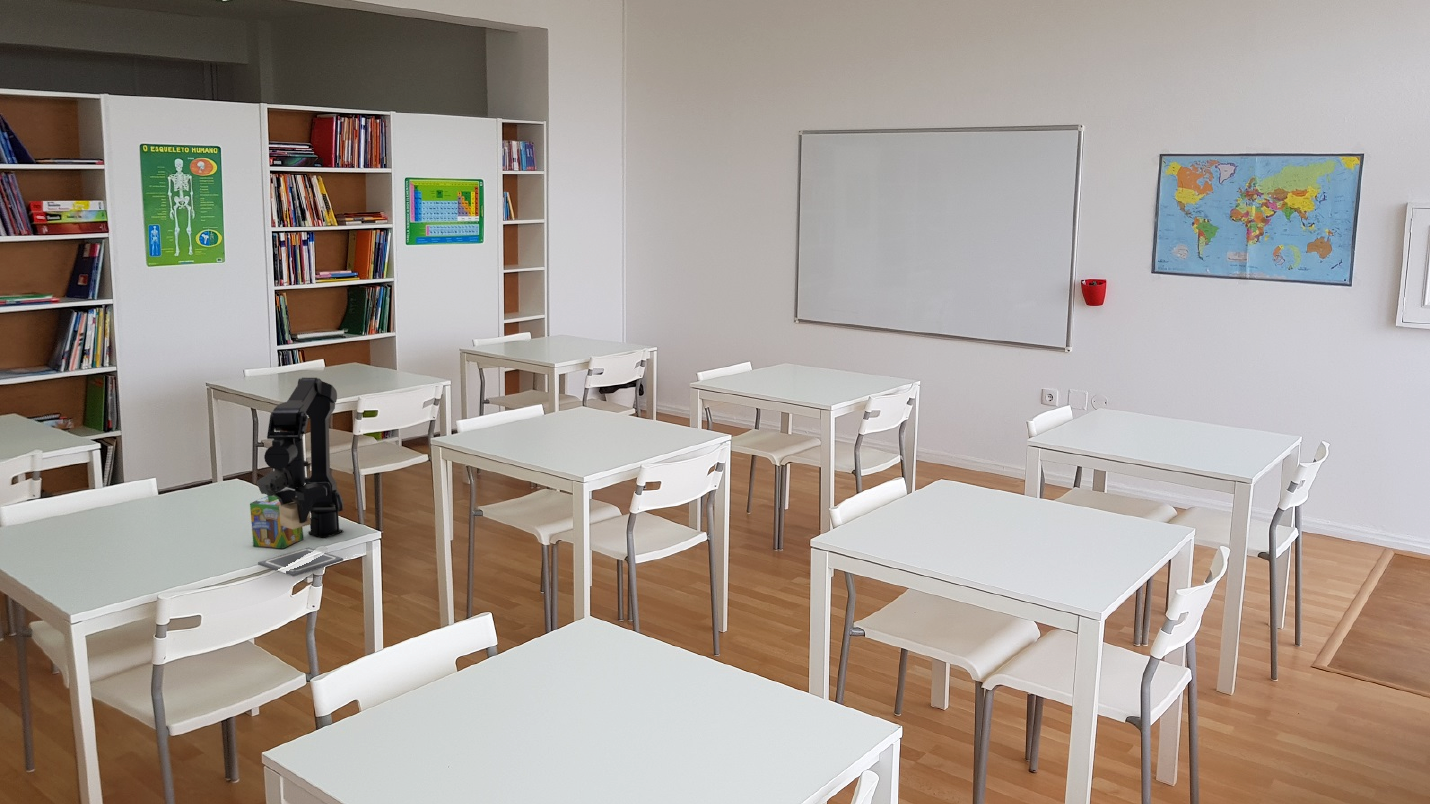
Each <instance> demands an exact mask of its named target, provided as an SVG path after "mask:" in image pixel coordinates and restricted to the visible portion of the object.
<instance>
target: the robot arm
mask: <svg viewBox="0 0 1430 804" xmlns="http://www.w3.org/2000/svg"><path fill="white" fill-rule="evenodd" d="M337 401H338V393H337V390H336V388H335V386H333V385H332V384H331V383H328V382H325V381H323V380H322V379H321V378H318V377H301V378H299V379H298V380H297V386H296V387H295V389H294V390H293V391H292V393H291V395H290V396H289V397H288V399H287V401H285V402H281V403H279V404H278V405H276V406H275V407H274V408H273V410H272V411H271V412H270V415H269V421H268V429H267V435H266V439H267V440H272V441H271V446H269V447H268V448H267V449H266V450H265V452H264V455H263V456H264V457H263V458H264V462H265V464H266V465H267V466H268V467H269V468H271V469H273V471H271V472H269V473H267V474H265V475H264V476H262V477H261V478H259V479H258V480H256V484H257V487H258V489H259V491H260V494H262V495H266V496H267V495H268V496H273V495H274V496H276V497H277V498H278V500H279V502H280V504H281V505H283V504H287V503H291V502H295V503H296V504H297V509H298V515H299V520H300V523H305V521H306V519H307V516H308V514H309V512H310V518H311V524H310V525H309V526H310V530H309V531H308V532H307V533H308V534H309V535H312V536H316V537H319V538H322V539H323V538H326V537H327V538H328V537H330V536H334V535H337V534H340V533H343V532H344V530H343V529H341V528H340V519H339V518H340V517H339V512H342V511H344V499H343V498H342V495H341V493H340V491H339V490H338V485H337V482H336V480H335V478H334V477H333V476H332V474H331V464H330V463H331V461H330V459H331V457H330V417H331V415H332V414H333V413H334V411H335V410H336V403H337ZM308 423H309V425H310V426H309V428H310V429H309V430H310V433H309V434H310V461H311V462H310V469H311V470H310V473H311V474H310V476H309V477H306V467H309V461H306V460H305V450H304V438H303V437H304V435H306V433H307V432H306V431H307V427H308Z"/></svg>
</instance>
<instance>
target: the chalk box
mask: <svg viewBox="0 0 1430 804" xmlns="http://www.w3.org/2000/svg"><path fill="white" fill-rule="evenodd" d="M280 505H281V504H280V502H279V500H278V498H277V497H276V496H274V495H273V496H268V495H266V496H263V497H261V498H259V499H257V500H254V501H252V502H250V503H249V507H250V519H251V520H250V521H251V532H252V533H251V534H252V546H253V547H261V548H262V547H263V548H275V549H285V548H287V547H289V546H291V545H293V544H296V543H297V542H300V541H303V540H304V532H303V531H304V530H303V527H300V528H296V529H290V528H287V527H284V526H281V525H280V513H279V506H280Z"/></svg>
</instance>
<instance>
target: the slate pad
mask: <svg viewBox="0 0 1430 804" xmlns="http://www.w3.org/2000/svg"><path fill="white" fill-rule="evenodd" d="M314 550H316V548H315V549H314V548H311V547H305V548H302V549H298V550H296V551H295V550H294V551H291V552H288V553H285V554H282V555H279V556H275V557H271V558H268V559H265V560H261V561H259V562H257V564H258V566H262V567H265V568H267V569H270V570H273V571H276V570H278V569H280V568H281V567H286V566H288V564H290V563H292V562H295V561H296V560H297V559H300V558H301V557H303V556H304V555H306V554H308V553H311V552H313V551H314ZM343 561H344V558H343V557H340V556H337V555H333V554H331V553H327V552H325V553H324V554H323V555H322V556H320V557H318V558H316V559H314V560H312V561H311V562H309V563H306V564H304V565H302V566H299V567H297V568H294V569H290V570H289V571H286V574H285V575H287V576H290V577H291V576H292V577H296V576H298V575H302V574H305V573H308V572H311V571H314V570H318V569H322V568H324V567H328V566H330V565H335V564H336V563H337V564H338V563H341V562H343Z"/></svg>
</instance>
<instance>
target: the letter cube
mask: <svg viewBox="0 0 1430 804" xmlns="http://www.w3.org/2000/svg"><path fill="white" fill-rule="evenodd" d="M279 513H280V525H281V526H284V527H287V528H290V529H296V528H300V527H302V528H303V527H306V526H310V524H311V513H310V512H309V514H308V516H307V519H306V521H305V523H300V520H299V515H298V509H297V504H296V503H295V502H291V503H287V504H283V505H280V506H279Z"/></svg>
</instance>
